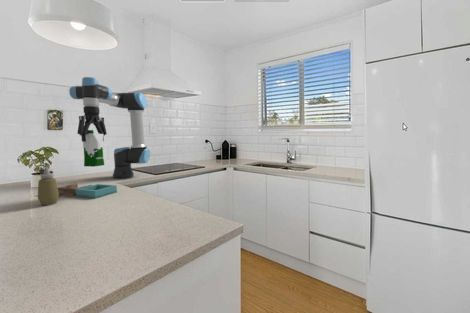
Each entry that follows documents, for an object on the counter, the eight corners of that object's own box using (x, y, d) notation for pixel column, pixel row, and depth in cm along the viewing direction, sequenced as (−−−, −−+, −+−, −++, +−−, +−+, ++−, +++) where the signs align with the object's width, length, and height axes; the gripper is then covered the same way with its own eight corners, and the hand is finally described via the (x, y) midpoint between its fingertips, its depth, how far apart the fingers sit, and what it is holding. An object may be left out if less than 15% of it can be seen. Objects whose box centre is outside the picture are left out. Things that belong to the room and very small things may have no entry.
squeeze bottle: (58, 200, 120) (55, 165, 119) (60, 203, 115) (58, 166, 113) (37, 203, 115) (34, 167, 113) (39, 207, 109) (36, 168, 107)
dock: (76, 190, 143) (76, 183, 142) (92, 191, 139) (91, 184, 138) (57, 194, 132) (56, 187, 132) (73, 196, 128) (73, 189, 128)
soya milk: (93, 164, 138) (91, 130, 137) (107, 164, 137) (105, 130, 135) (81, 166, 130) (78, 130, 128) (95, 166, 128) (93, 129, 126)
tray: (98, 190, 141) (97, 183, 141) (116, 192, 137) (116, 185, 136) (76, 196, 128) (75, 189, 128) (95, 198, 123) (95, 191, 123)
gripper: (103, 109, 142) (104, 146, 144) (67, 104, 122) (69, 148, 123) (112, 108, 139) (114, 146, 141) (77, 103, 119) (80, 148, 121)
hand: (93, 147), depth 132 cm, fingers closed on soya milk, 9 cm apart
